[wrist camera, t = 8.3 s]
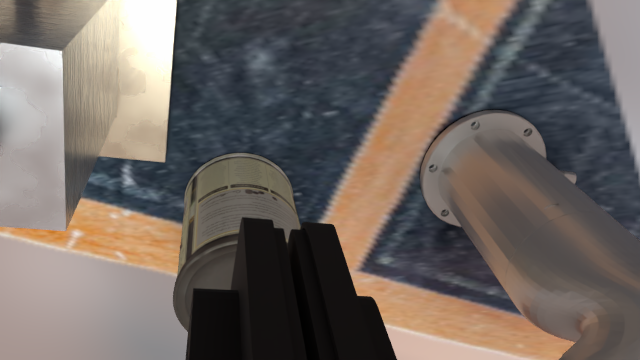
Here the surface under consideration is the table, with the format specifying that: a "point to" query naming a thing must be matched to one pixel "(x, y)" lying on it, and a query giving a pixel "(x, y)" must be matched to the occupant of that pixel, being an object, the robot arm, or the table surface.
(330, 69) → the table surface
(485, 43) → the table surface
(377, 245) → the table surface
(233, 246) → the coffee can
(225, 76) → the table surface
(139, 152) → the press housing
